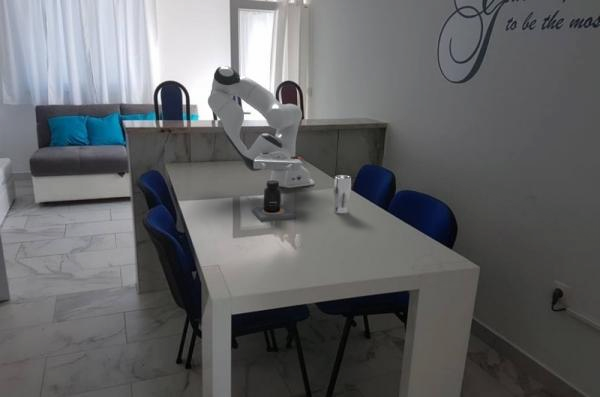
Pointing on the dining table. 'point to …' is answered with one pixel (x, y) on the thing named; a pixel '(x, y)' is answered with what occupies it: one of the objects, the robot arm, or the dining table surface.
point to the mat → (282, 214)
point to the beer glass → (342, 193)
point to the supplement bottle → (272, 197)
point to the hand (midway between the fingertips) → (275, 168)
